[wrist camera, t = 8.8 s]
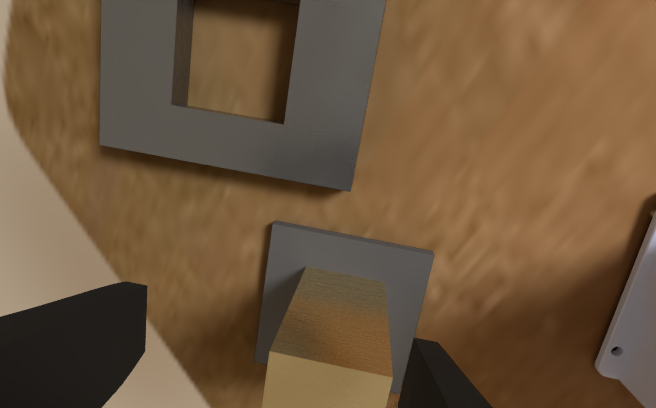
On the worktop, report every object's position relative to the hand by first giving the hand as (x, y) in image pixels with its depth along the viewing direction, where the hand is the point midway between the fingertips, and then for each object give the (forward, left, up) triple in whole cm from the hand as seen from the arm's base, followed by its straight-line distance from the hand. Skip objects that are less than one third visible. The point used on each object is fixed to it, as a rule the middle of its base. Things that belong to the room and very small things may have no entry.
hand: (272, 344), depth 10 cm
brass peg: (-4, -2, -9) cm, 10 cm away
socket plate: (+8, +5, -9) cm, 13 cm away
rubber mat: (-4, -2, -9) cm, 10 cm away
